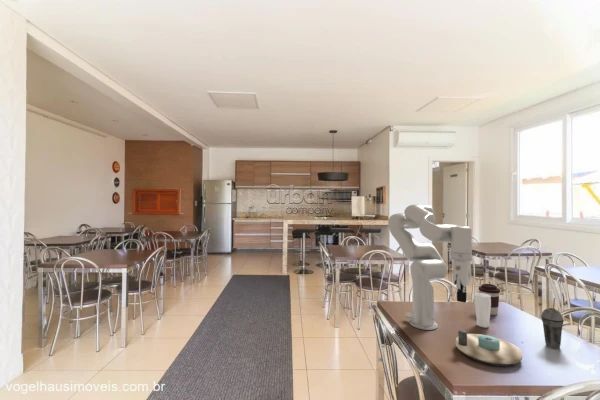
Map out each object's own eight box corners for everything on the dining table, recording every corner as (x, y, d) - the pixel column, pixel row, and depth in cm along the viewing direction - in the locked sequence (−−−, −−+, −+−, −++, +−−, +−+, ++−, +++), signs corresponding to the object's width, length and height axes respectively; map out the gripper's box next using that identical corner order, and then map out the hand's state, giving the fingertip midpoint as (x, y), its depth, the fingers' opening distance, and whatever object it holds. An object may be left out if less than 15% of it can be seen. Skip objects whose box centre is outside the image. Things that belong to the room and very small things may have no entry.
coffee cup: (504, 316, 158) (504, 287, 159) (485, 316, 159) (485, 287, 159) (493, 309, 168) (492, 282, 169) (475, 309, 168) (474, 282, 169)
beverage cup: (536, 343, 127) (535, 295, 128) (552, 342, 128) (551, 295, 128) (552, 351, 120) (551, 300, 120) (569, 350, 121) (568, 300, 121)
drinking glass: (486, 323, 149) (486, 293, 149) (494, 329, 142) (493, 297, 142) (472, 323, 149) (471, 292, 150) (479, 328, 143) (478, 296, 143)
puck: (483, 350, 114) (483, 342, 114) (475, 342, 121) (475, 334, 121) (503, 351, 113) (503, 343, 113) (494, 343, 120) (493, 335, 120)
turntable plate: (468, 361, 108) (468, 343, 109) (447, 335, 130) (447, 320, 130) (536, 366, 105) (535, 347, 105) (503, 339, 127) (503, 323, 127)
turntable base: (456, 355, 117) (456, 351, 117) (467, 339, 130) (467, 336, 130) (512, 371, 105) (512, 367, 105) (518, 353, 118) (518, 349, 119)
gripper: (466, 260, 115) (467, 308, 115) (475, 255, 126) (476, 299, 126) (446, 257, 120) (446, 303, 120) (456, 253, 131) (456, 295, 131)
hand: (461, 301), depth 123 cm, fingers closed
